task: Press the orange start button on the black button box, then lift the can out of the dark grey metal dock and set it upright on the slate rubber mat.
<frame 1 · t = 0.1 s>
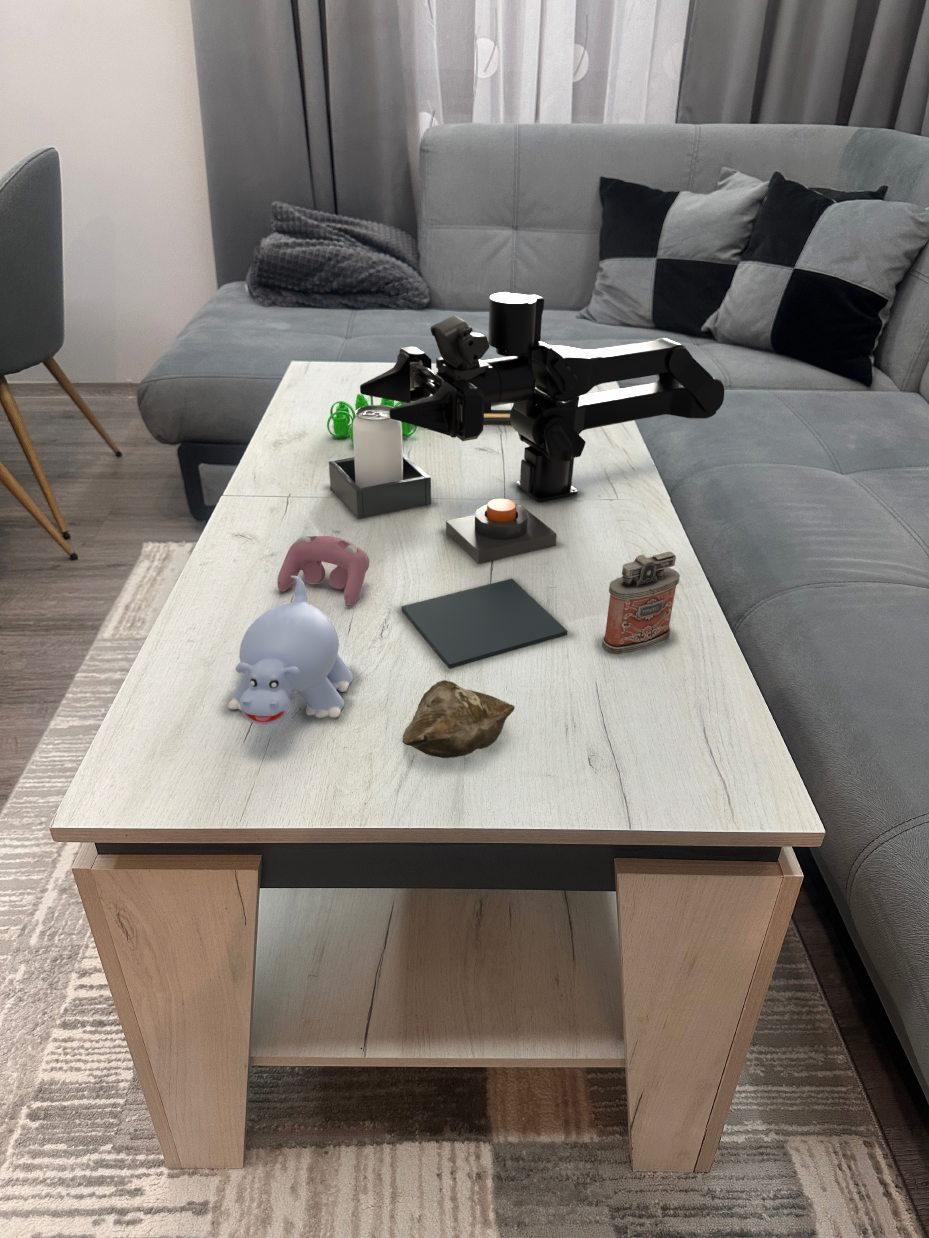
hand: (374, 401, 105), 17 cm above the table, tool horizontal, fingers open, 9 cm apart
hippopotamus toy: (288, 702, 83), on the table
button box: (500, 539, 111), on the table
video game controller: (325, 590, 101), on the table
start button: (501, 510, 109), point 4 cm above the table, slide at 0.1 cm
mat: (482, 622, 95), on the table
dock: (379, 496, 121), on the table
fossilized seashell: (458, 742, 79), on the table
chandelier: (374, 432, 141), on the table, touching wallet
lighter: (635, 642, 93), on the table
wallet: (462, 409, 151), on the table, touching chandelier
can: (380, 497, 121), resting in dock
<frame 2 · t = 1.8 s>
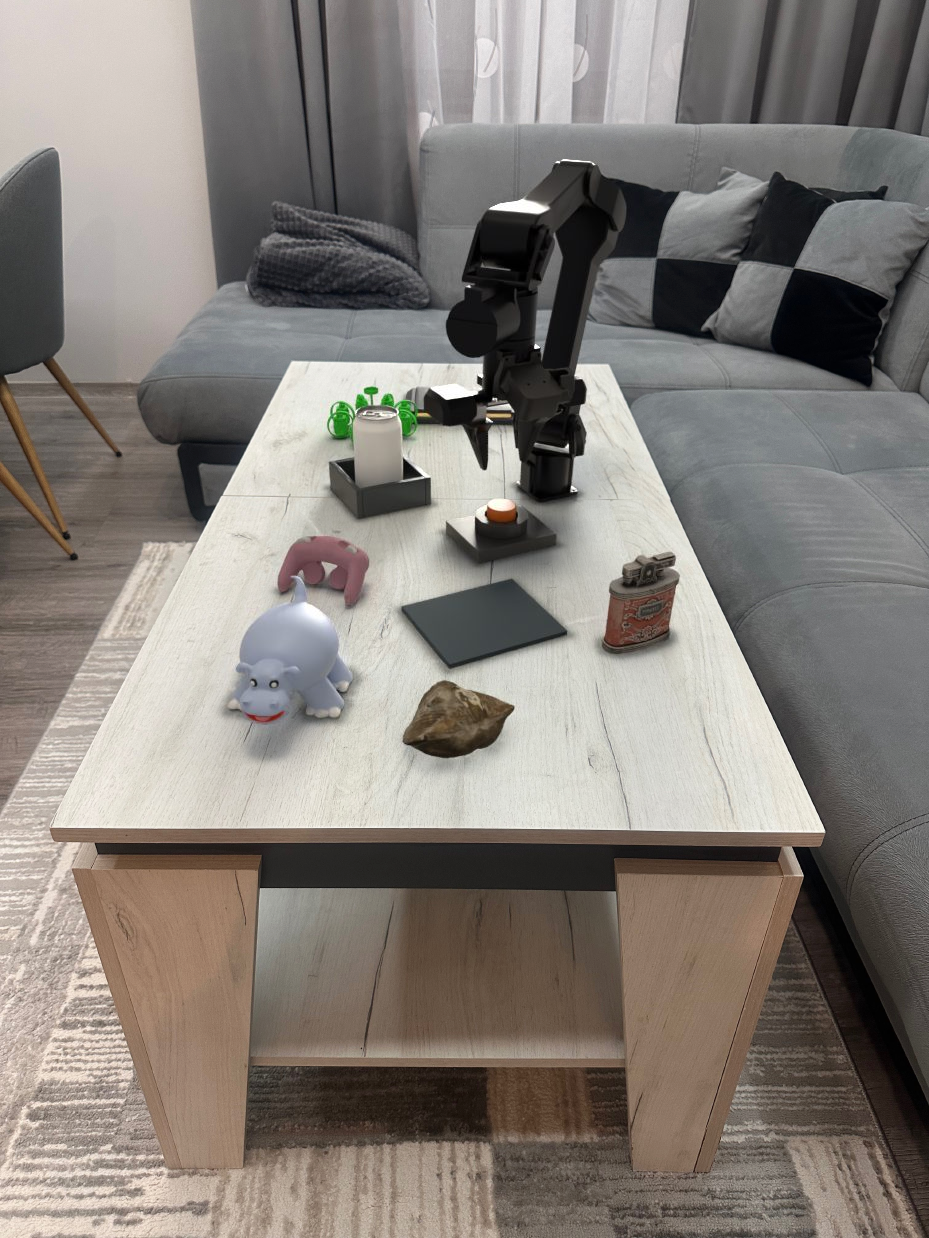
hand: (503, 465, 106), 10 cm above the table, tool pointing down, fingers open, 5 cm apart
nothing on the table moved.
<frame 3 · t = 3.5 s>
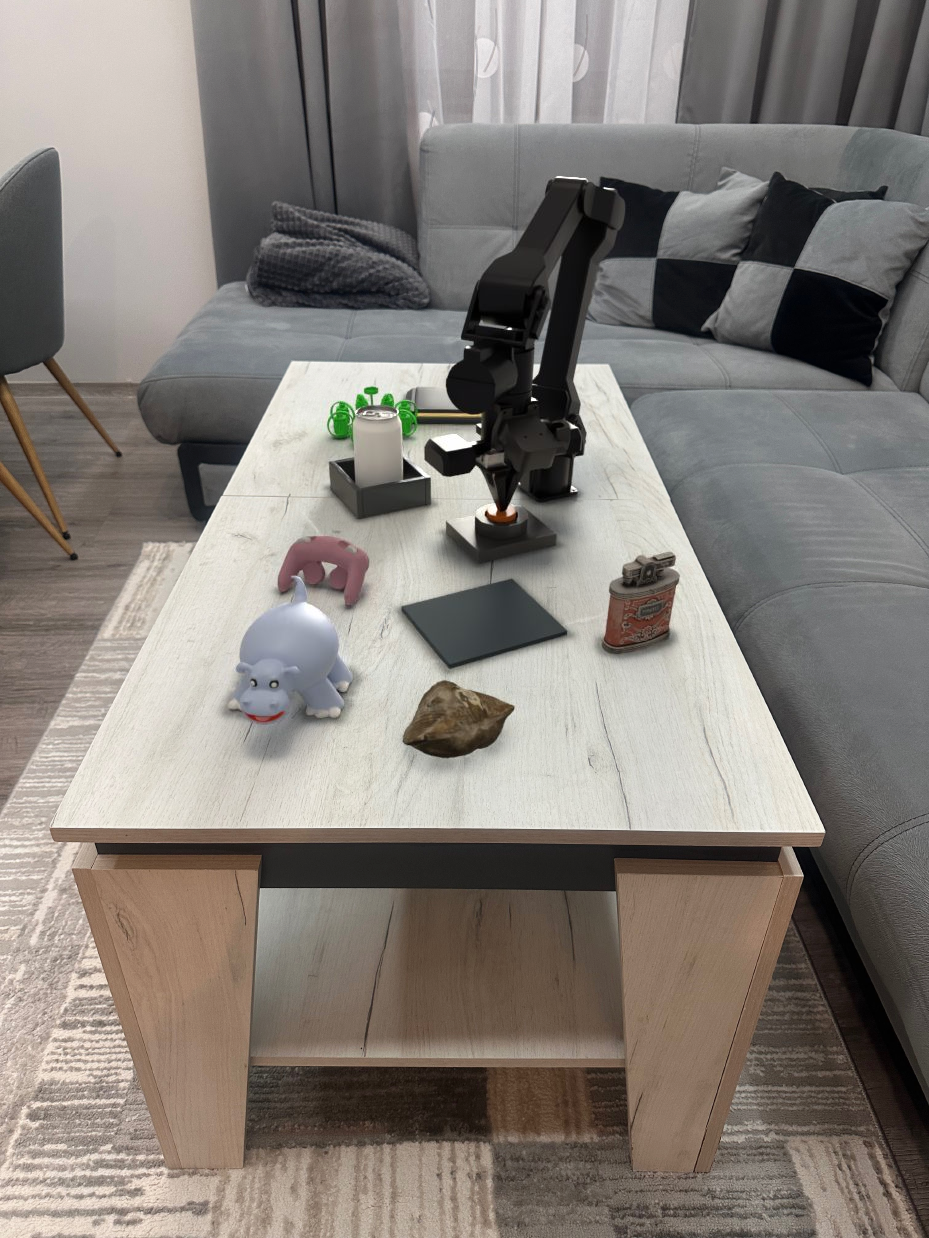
hand: (501, 510, 109), 4 cm above the table, tool pointing down, fingers closed, pressing on start button
start button: (501, 516, 110), point 3 cm above the table, slide at -0.7 cm, touching gripper
everything else where it was.
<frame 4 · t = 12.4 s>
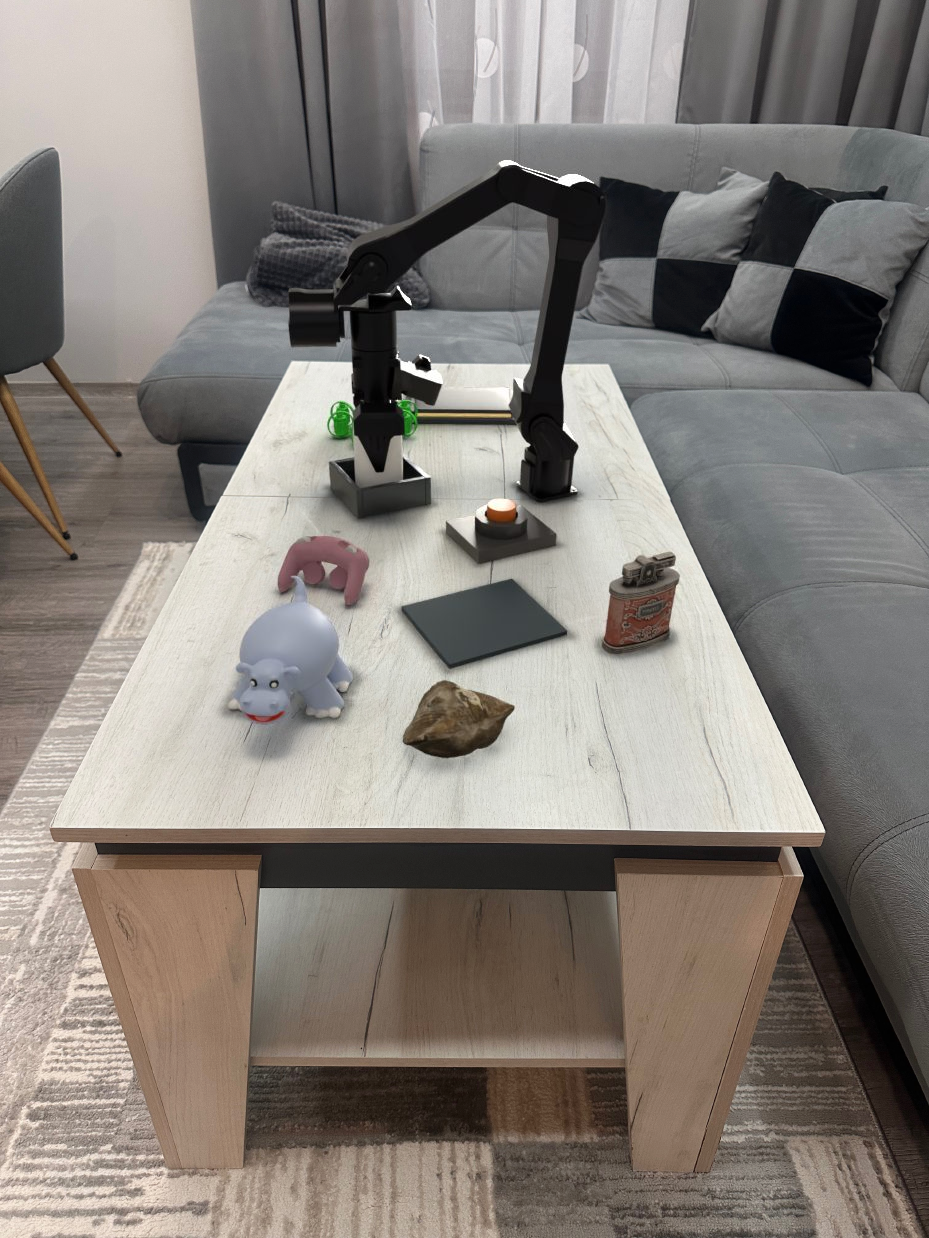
hand: (378, 462, 118), 5 cm above the table, tool pointing down, fingers closed on can, 6 cm apart
start button: (501, 510, 109), point 4 cm above the table, slide at 0.1 cm
can: (379, 497, 121), resting in dock, touching gripper
everything else where it was.
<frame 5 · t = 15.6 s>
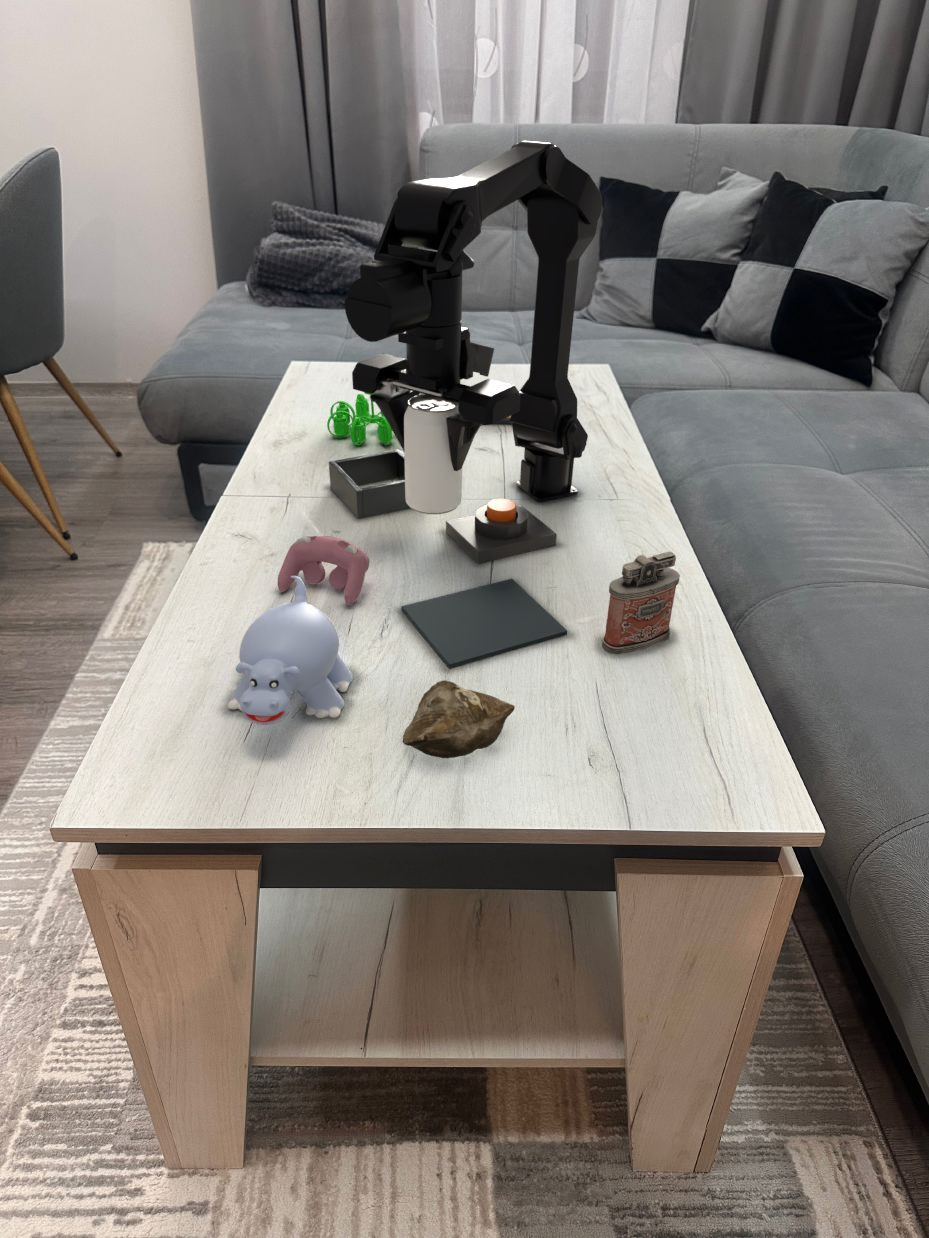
hand: (433, 462, 99), 13 cm above the table, tool pointing down, fingers closed on can, 6 cm apart
can: (433, 504, 101), point 8 cm above the table, touching gripper
everything else where it was.
when the fingers open (6 cm above the table, at t = 19.0 s): can stays where it is, resting on mat.
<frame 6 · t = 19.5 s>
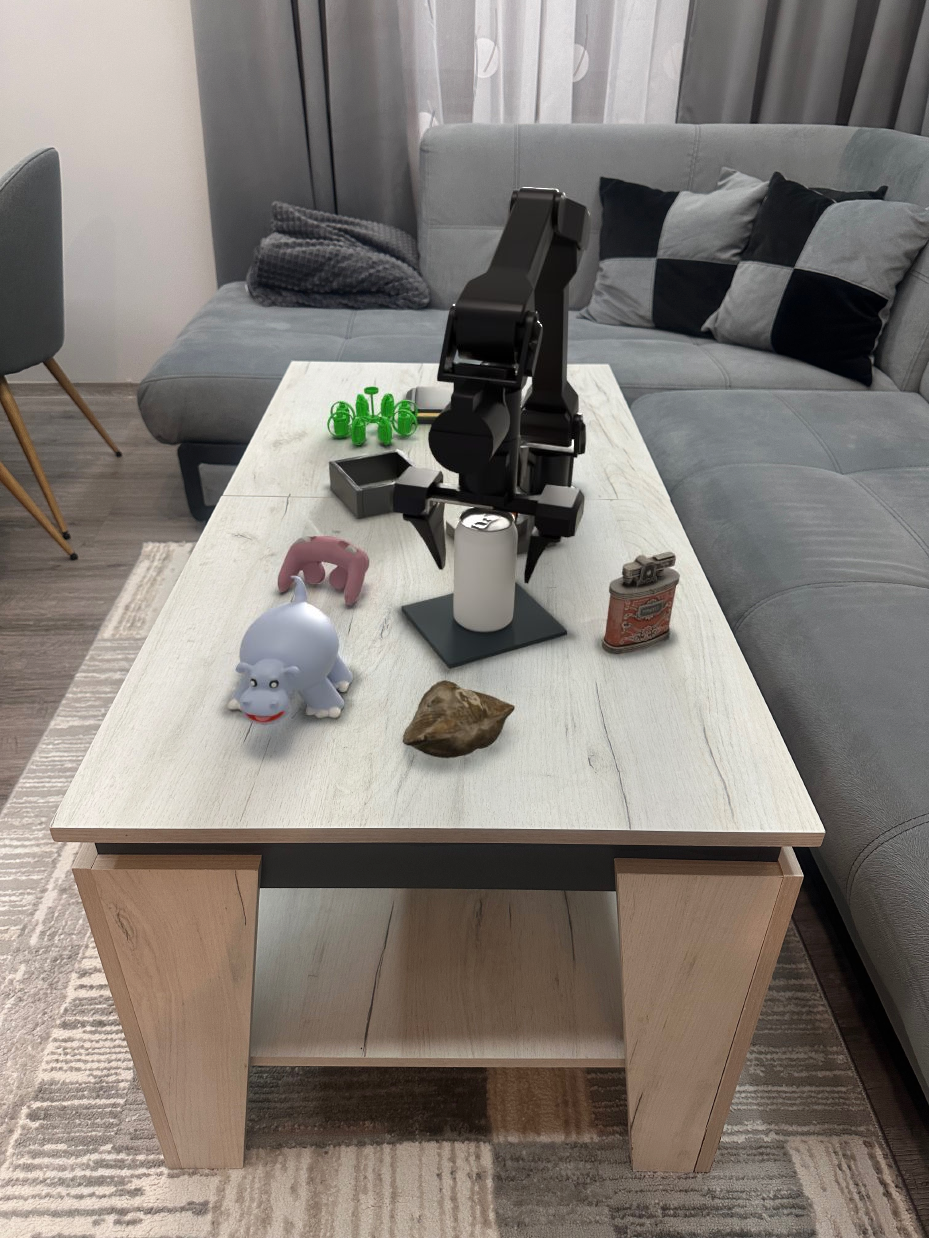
hand: (484, 574, 92), 6 cm above the table, tool pointing down, fingers open, 9 cm apart
can: (483, 619, 95), resting on mat
everything else where it was.
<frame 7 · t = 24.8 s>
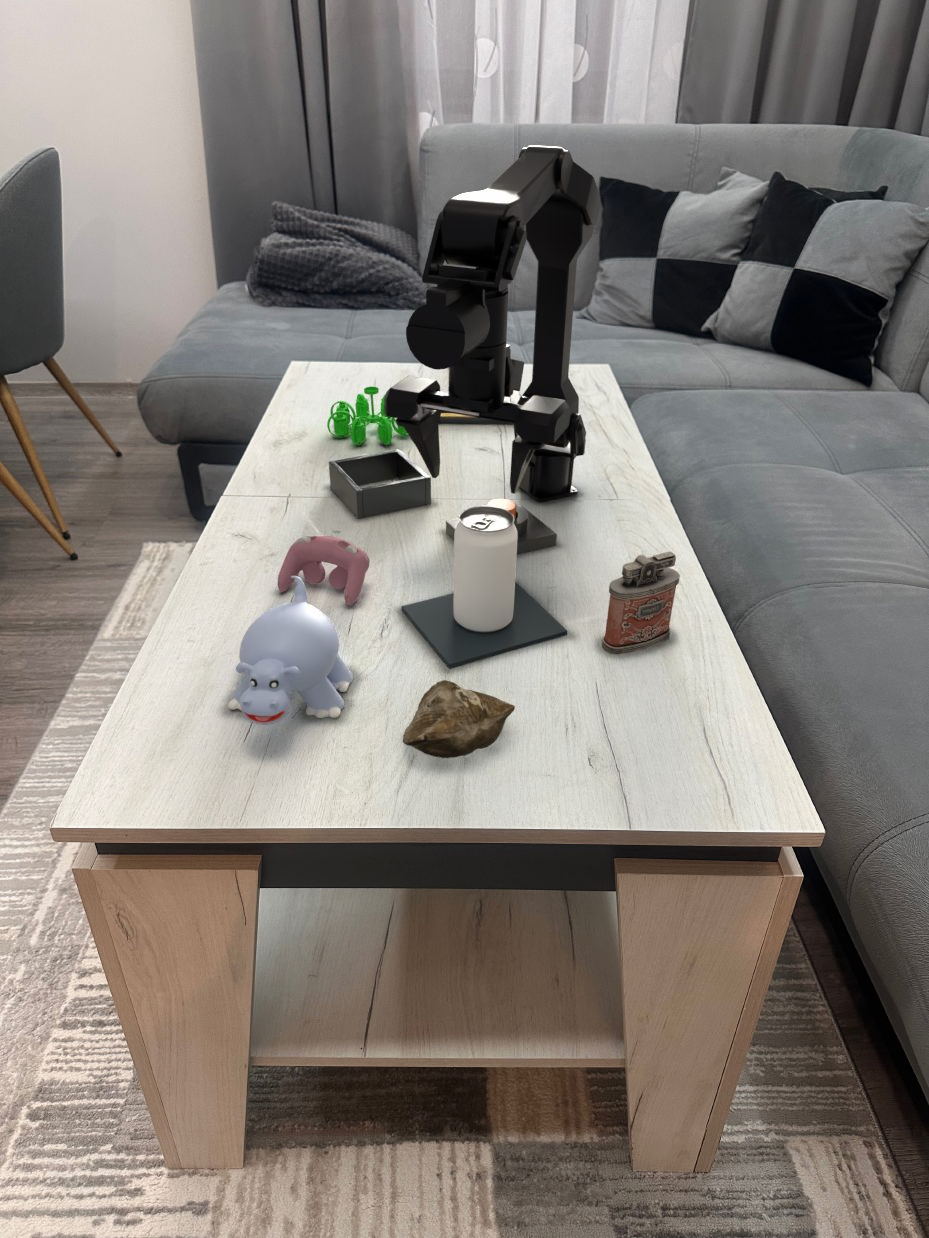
hand: (474, 484, 95), 12 cm above the table, tool pointing down, fingers open, 9 cm apart
nothing on the table moved.
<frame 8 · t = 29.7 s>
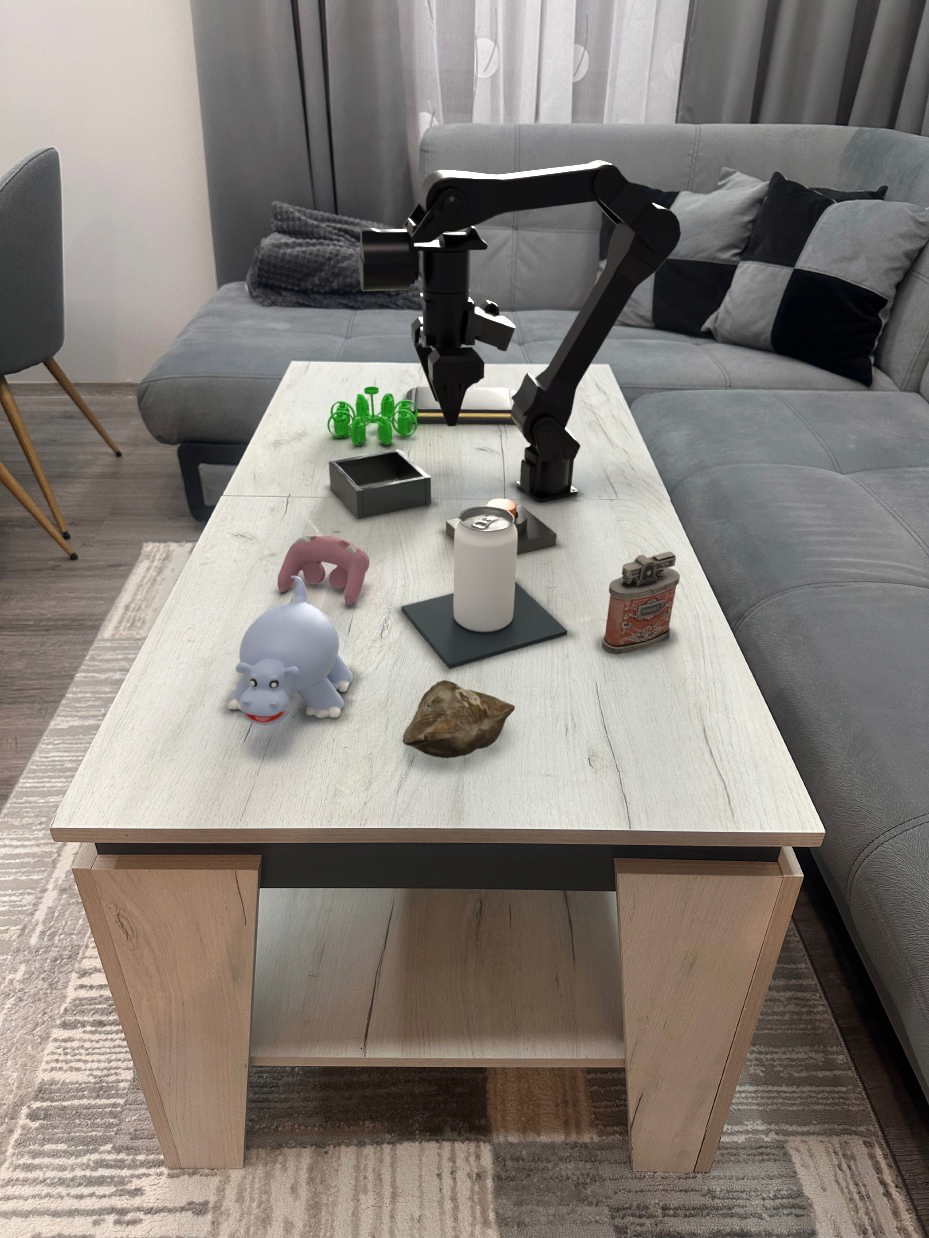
hand: (445, 413, 115), 12 cm above the table, tool pointing down, fingers open, 9 cm apart
nothing on the table moved.
at the end: start button pushed in 1.1 cm at the most during the clip, back to where it started at the end; can inside the target area on the mat (0.0 cm from its centre), point 0.4 cm above the mat's base; can tilted 0° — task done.
